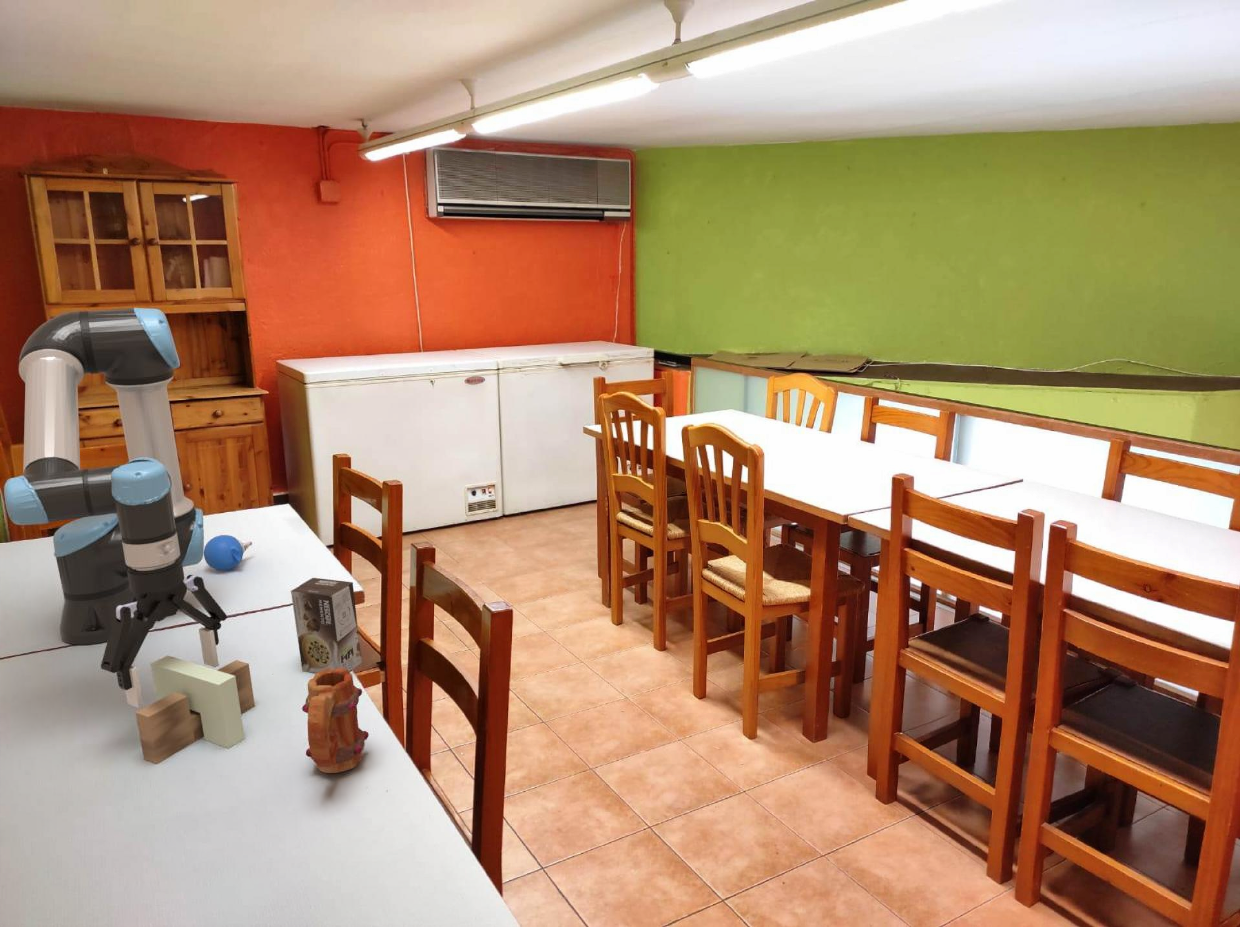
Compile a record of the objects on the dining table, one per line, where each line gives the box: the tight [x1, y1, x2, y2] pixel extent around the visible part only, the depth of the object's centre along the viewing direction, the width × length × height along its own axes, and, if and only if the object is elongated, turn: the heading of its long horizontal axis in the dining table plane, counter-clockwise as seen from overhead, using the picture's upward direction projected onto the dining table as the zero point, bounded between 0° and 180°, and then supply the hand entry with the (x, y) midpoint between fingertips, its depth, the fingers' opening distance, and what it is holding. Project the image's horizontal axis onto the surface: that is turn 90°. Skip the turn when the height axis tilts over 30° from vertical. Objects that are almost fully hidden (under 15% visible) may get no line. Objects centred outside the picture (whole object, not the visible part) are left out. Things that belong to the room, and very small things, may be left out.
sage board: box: [150, 655, 245, 749], centre depth 134 cm, size 16×3×11 cm, turn 63°
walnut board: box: [135, 659, 256, 765], centre depth 135 cm, size 18×3×8 cm, turn 153°
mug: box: [301, 668, 370, 774], centre depth 122 cm, size 15×8×15 cm, turn 5°
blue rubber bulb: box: [203, 534, 253, 572], centre depth 204 cm, size 12×12×8 cm
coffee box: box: [290, 577, 362, 674], centre depth 154 cm, size 9×6×16 cm
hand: (175, 683), depth 136 cm, fingers open, 13 cm apart
